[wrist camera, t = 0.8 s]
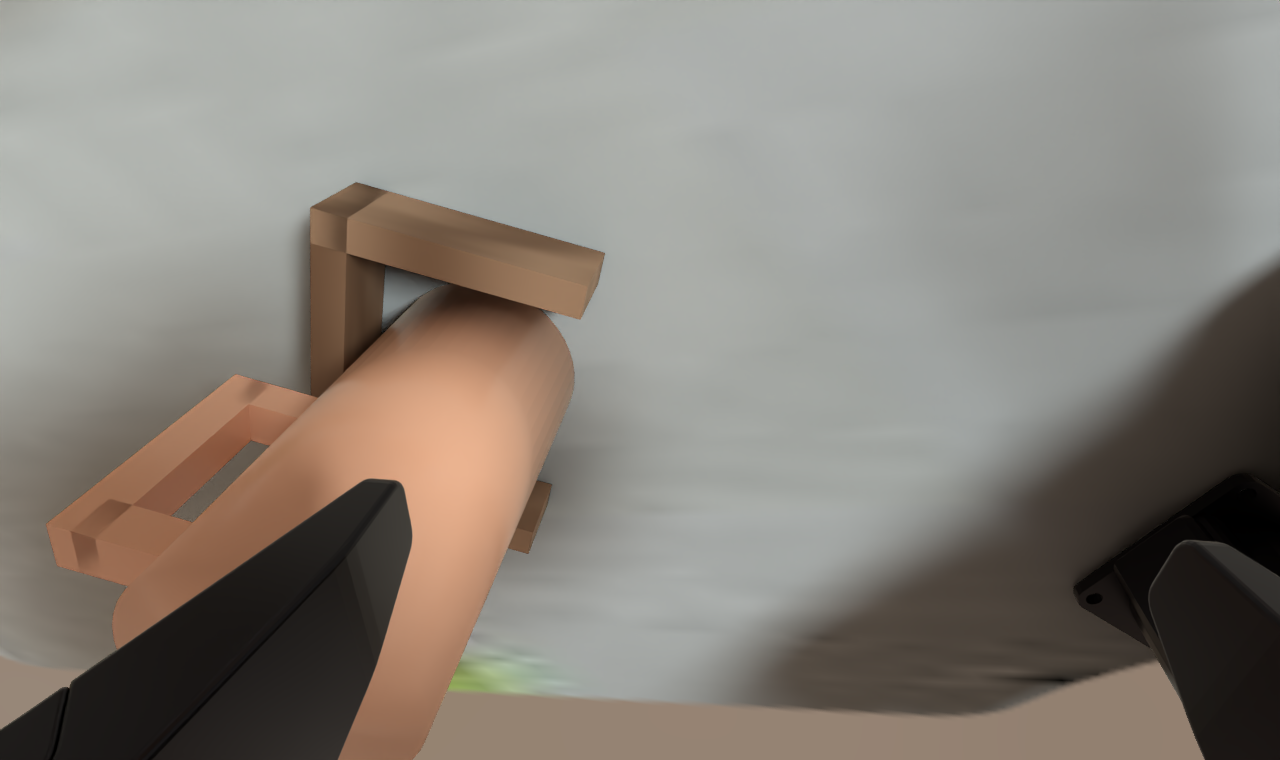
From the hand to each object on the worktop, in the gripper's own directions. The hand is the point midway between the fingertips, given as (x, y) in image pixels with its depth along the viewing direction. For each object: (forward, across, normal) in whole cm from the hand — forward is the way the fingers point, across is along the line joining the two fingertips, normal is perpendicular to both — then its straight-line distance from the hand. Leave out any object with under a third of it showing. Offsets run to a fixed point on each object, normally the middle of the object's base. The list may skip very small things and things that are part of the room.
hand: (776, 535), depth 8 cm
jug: (+13, +9, +6) cm, 17 cm away
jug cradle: (+13, +8, +6) cm, 17 cm away
